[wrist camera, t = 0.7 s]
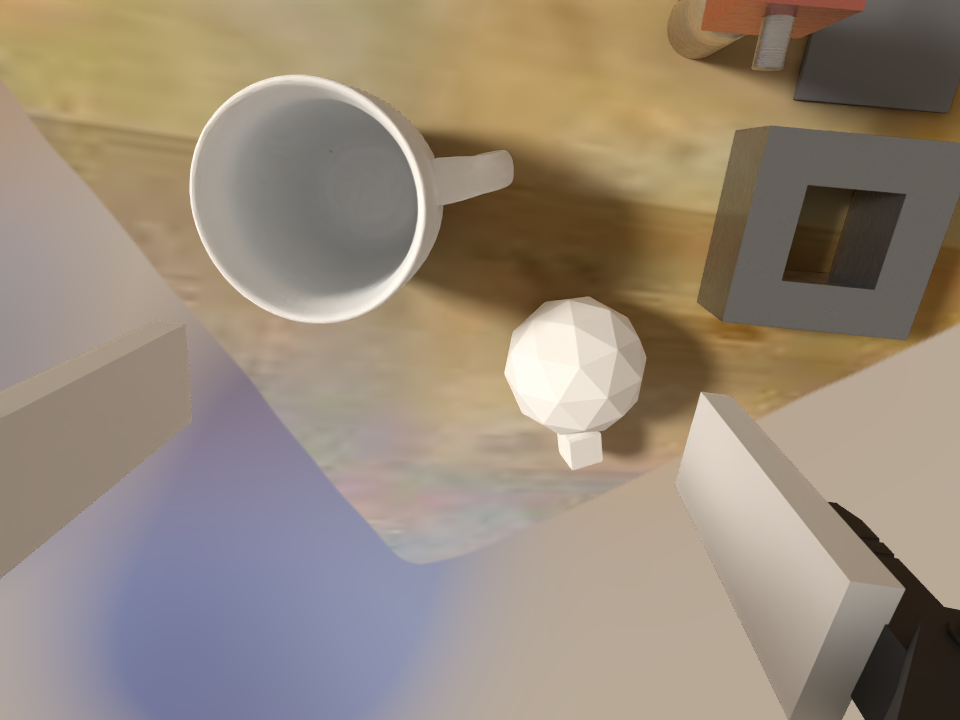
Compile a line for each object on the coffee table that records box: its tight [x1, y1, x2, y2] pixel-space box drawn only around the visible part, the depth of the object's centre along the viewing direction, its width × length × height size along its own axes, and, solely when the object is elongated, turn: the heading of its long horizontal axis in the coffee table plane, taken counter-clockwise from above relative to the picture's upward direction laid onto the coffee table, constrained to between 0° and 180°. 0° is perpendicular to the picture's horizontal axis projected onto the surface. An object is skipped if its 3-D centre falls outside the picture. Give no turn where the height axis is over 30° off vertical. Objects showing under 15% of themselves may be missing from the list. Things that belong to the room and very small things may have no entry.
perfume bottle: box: [504, 296, 647, 470], centre depth 37 cm, size 9×9×12 cm
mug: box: [190, 74, 514, 324], centre depth 31 cm, size 15×11×13 cm
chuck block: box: [697, 126, 960, 340], centre depth 34 cm, size 11×11×5 cm
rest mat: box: [793, 0, 960, 113], centre depth 32 cm, size 9×9×1 cm
